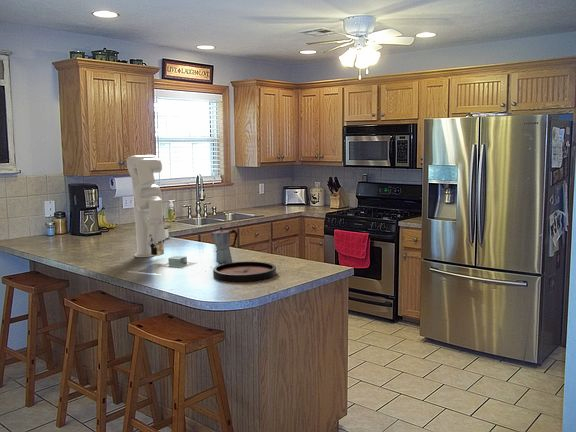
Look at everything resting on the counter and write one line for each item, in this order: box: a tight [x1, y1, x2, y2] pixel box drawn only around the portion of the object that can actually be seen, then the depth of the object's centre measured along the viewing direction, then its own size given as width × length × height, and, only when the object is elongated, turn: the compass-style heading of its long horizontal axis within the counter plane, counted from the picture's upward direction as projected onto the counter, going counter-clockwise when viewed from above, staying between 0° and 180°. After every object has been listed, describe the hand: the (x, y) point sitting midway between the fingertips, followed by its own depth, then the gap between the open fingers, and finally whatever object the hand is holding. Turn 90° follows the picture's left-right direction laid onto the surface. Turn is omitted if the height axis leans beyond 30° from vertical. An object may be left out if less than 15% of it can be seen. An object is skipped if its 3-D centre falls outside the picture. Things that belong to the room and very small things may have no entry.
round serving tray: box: [212, 260, 277, 284], centre depth 280 cm, size 31×4×31 cm
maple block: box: [151, 242, 165, 257], centre depth 307 cm, size 5×5×6 cm
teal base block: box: [168, 255, 188, 266], centre depth 302 cm, size 7×7×4 cm
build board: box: [157, 261, 198, 269], centre depth 302 cm, size 15×16×1 cm
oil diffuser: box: [163, 221, 172, 239], centre depth 398 cm, size 26×24×17 cm
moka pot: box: [209, 226, 239, 265], centre depth 309 cm, size 10×15×20 cm, turn 111°
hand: (157, 253), depth 308 cm, fingers closed on maple block, 5 cm apart
